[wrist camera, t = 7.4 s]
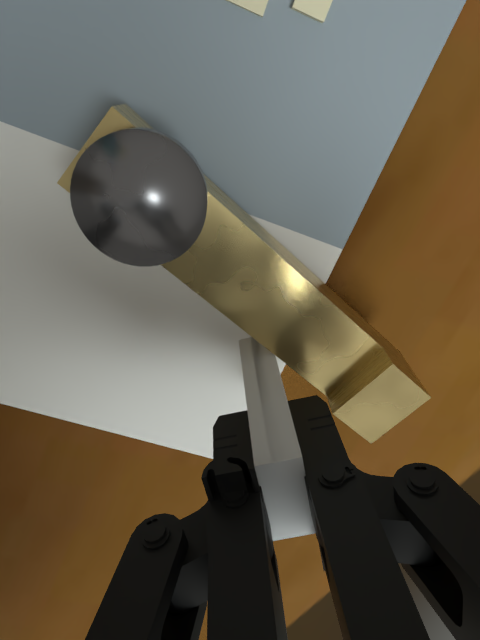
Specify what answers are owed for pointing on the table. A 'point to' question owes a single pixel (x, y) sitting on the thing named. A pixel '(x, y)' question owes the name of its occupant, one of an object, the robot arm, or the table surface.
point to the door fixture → (216, 163)
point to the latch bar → (233, 267)
